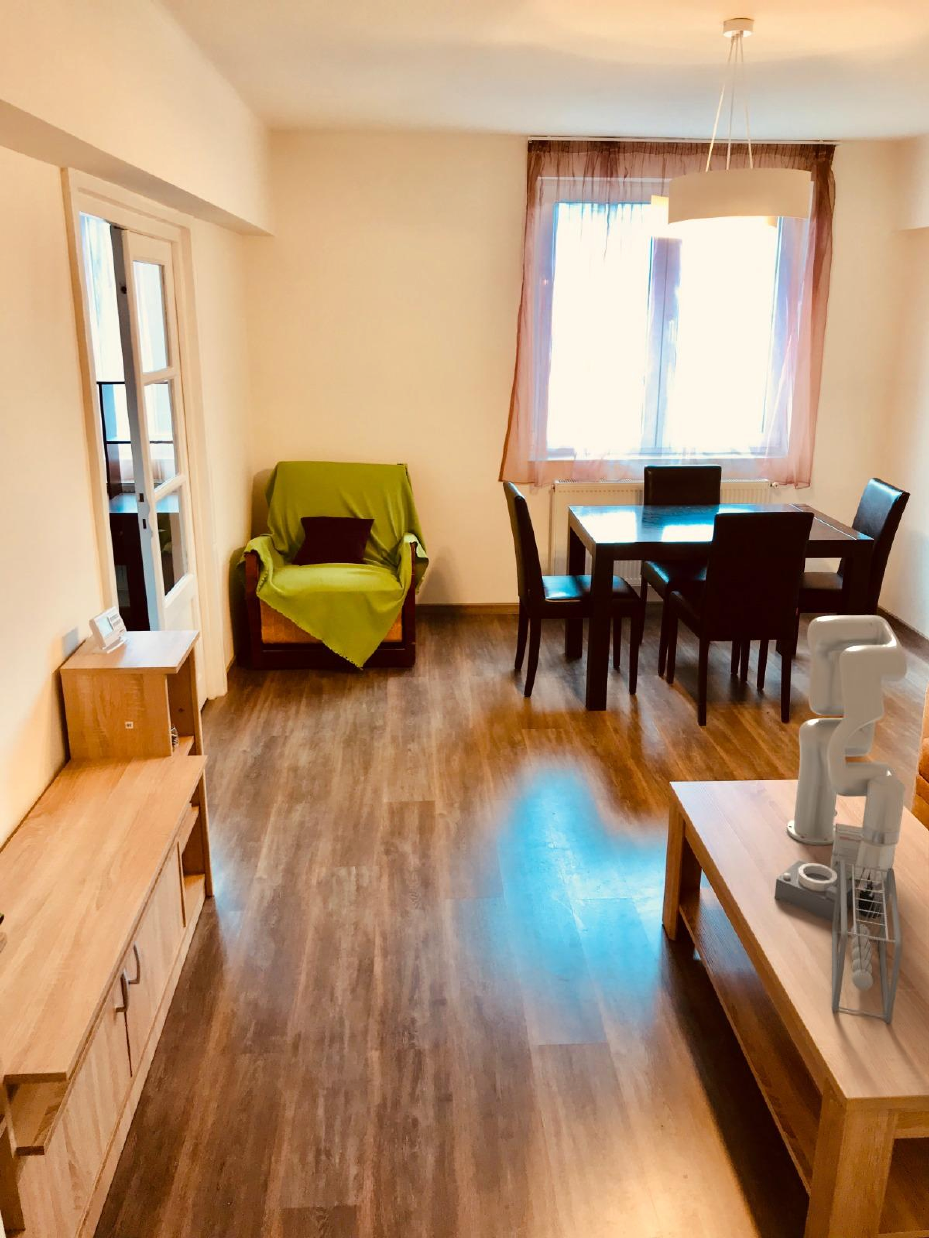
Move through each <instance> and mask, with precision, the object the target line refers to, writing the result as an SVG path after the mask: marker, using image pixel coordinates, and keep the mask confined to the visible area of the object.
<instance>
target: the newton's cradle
mask: <svg viewBox="0 0 929 1238" xmlns="http://www.w3.org/2000/svg"><path fill="white" fill-rule="evenodd" d="M846 865H848V866H852V879H851V881H852V887H853V905H852V911H853V912H852V913H853V915H852V916H853V917H852V919H853V926H852V928H851V930H850V932H849V931H848V909H847V885H846ZM854 867H860V868H866V869H872V870H878V871H881V881H882V882H879V883H880V884H881V883H882V892H879V893H881V894H882V893H883V903H882V904H883V906H882V904H881V906H882V913H880V914H881V917H880V920H879V922H878V923H877V922H876V921H877V919H878V918H877V917H878V914H879V912H878V914H877V917H876V919H874V922H873V921H872V917H873V915H872V917H871V918H870V920H869V921H868V925H867V926H866V925H865V924H866V923H867V920H868V918H867V917H868V915H867V917H865V920H860V913H859V910H860V909H858V908H859V907H858V903H859V897H858V893H857V892H858V891H857V890H859V888H858V887H857V888H856V883H857V880H854V879H858V878H854ZM883 871H884V872H887V877H886V884H885V891H884V880H883ZM861 880H864V879H861ZM867 881H870V880H867ZM854 882H855V885H854ZM873 882H876V881H873ZM880 884H879V887H880ZM896 885H897V884H896V876H895V869H894V868H893V867H892V868H889V869H888V870H883V869H877V868H871V867H865V866H859V865H853V864H847V863H846V862H845V861H844V860H841V861H840V866H839V874H838V882H837V890H836V899H835V907H834V915H833V923H832V925H831V926H832V927H831V928H832V929H831V1010H832V1011H833V1012H835V1013H836V1012H838V1011H839V1010H844V1011H850V1012H854V1013H858V1014H859V1013H860V1014H864V1015H868V1016H873V1017H876V1018H877V1017H878V1018H881V1019H884V1021H885V1023H887V1024H890V1023H892V1020H893V1015H894V1008H895V1001H896V995H897V994H896V993H897V986H898V980H899V974H900V969H901V967H900V966H901V959H902V954H903V953H902V951H903V942H902V941H903V940H902V933H901V923H900V915H899V914H900V913H899V905H898V895H897V888H896V887H897V886H896ZM879 887H878V889H879ZM856 889H857V890H856ZM878 889H877V892H878ZM862 890H865V889H862ZM868 891H871V890H868ZM874 892H876V891H874ZM877 892H876V894H877ZM855 894H856V898H855ZM876 894H875V897H876ZM881 894H880V896H881ZM875 897H874V899H875ZM879 899H880V897H879ZM879 899H878V901H879ZM861 900H864V899H861ZM866 901H869V900H866ZM873 902H875V901H874V900H873V901H872V904H873ZM878 903H881V902H877V904H878ZM890 903H891V911H892V912H891V913H892V923H893V924H892V925H893V926H892V927H893V934H894V935H893V937H894V940H891V939H889V929H888V918H887V917H888V913H889V905H890ZM840 904H841V916H840V917H839V912H840ZM877 904H876V907H877ZM871 907H872V905H871ZM871 907H870V909H871ZM876 907H875V909H876ZM875 909H874V912H873V914H874V913H877V912H875ZM880 909H881V907H880ZM880 909H879V911H880ZM863 911H866V910H863ZM869 912H872V911H870V910H869ZM869 912H868V914H869ZM839 920H840V931H839ZM861 922H864V923H863V924H862V923H861ZM870 924H872V927H871V929H870V930H869V927H870ZM875 925H877V927H876V930H875V932H874V935H873V936H872V935H871V934H872V932H873V929H874V926H875ZM877 932H878V937H877V936H876V934H877ZM839 934H840V942H839V943H840V944H839V943H838V940H839V936H838V935H839ZM848 936H851V939H852V940H851V943H850V946H851V949H852V951H851V959H852V961H853V962H852V964H851V970H852V972H853V974H852V978H851V980H852V984H853V985H854V986H855V988H857V989H859V990H861V991H866V990H867V991H868V990H869V989H870V988H872V986H873V983H874V982H873V981H874V979H873V977H872V975H871V974H872V972H873V967H872V963H871V961H872V958H873V955H874V952H875V950H876V947H877V946H878V947H879V948H878V949H879V950H878V951H879V962H880V963H879V964H880V977H881V978H880V979H881V990H882V991H881V993H882V1007H883V1015H882V1014H877V1013H873V1012H869V1011H868V1012H867V1011H863V1010H859V1009H853V1008H849V1007H845V1006H844V1007H843V1006H840V999H841V992H842V986H843V977H844V969H845V962H846V953H847V947H848V946H847V945H848ZM870 940H872V941H870ZM874 941H876V944H875V946H874V947H873V951H872V953H871V952H870V951H871V949H872V945H873V942H874ZM885 942H887V943H893V944H895V945H894V956H893V961H892V962H893V963H892V969H891V977H890V985H889V982H888V981H889V980H888V969H887V957H886V956H887V955H886V945H885V944H886V943H885ZM877 944H878V945H877ZM838 945H839V947H838ZM838 949H839V950H838Z"/></svg>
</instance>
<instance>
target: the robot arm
mask: <svg viewBox="0 0 929 1238" xmlns="http://www.w3.org/2000/svg"><path fill="white" fill-rule="evenodd" d="M806 634H807V635H806V636H807V643H808V648H809V652H810V660H811V661H810V663H811V664H810V674H809V685H808V686H809V687H808V706H809V708H810V711H812V712H813V714H815V715H819V716H843V717H838V718H837V717H828V718H819V717H818V718H812V719H808V720H806V721H804V722H803V723H802V724H801V725H800V726H799V730H798V744H799V768H798V779H797V789H796V797H795V809H794V816H793V817H794V818H793V819H791V820H790V821H788V823H787V824H786V831H787V834H789V836H790V837H792V838H793V839H794V840H796V841H798V842H801V843H804V844H807V845H813V846H828V845H831V844H832V845H833V841H834V834H835V827H836V826H835V825H834V822H835V817H836V816H837V815H838V811H837V809H836V805H837V796H841V797H845V798H846V797H850V798H851V797H854V798H855V797H865V802H864V803H865V804H864V810H863V818H862V826H861V827H862V832H861V836H862V837H863V840H862V842H861V846H860V849H859V853H858V858H857V864H856V865H859V866H865V867H871V868H877V869H883V870H888V869H889V868H892V869H893V867H894V861H895V855H896V853H895V852H896V845H897V844H898V843H899V840H900V832H901V827H902V817H903V811H904V804H905V797H906V787H905V784H904V783H903V781H902V780H900V779H899V777H898V773H897V771H896V770H895V767H893V766H892V764H890V763H888V762H885V761H852V762H851V761H847V760H846V757H860V756H865V755H867V754H868V753H870V752H871V751H872V748H873V744H874V738H875V737H874V736H875V726H876V722H877V721H879V720H881V719H882V718H883V717H884V715H885V705H884V697H883V696H884V695H883V687H882V686H883V685H882V683H885V682H887V683H888V682H892V683H893V682H899V681H902V680H903V679H904V678H905V677H906V676H907V671H908V662H907V661H908V660H907V657H906V653H905V650H904V649H903V646H902V644H901V642H900V640H899V639H898V637H897V635H896V633H895V632H894V630H893V629H892V627H891V625H890V623H889V622H888V621H887V620H886V619H885V618H884V617H882V616H880V615H876V614H875V615H872V614H871V615H870V614H869V615H868V614H865V615H855V614H854V615H851V614H850V615H849V614H848V615H845V614H844V615H825V616H819V617H815V618H814V619H812V620H811V621H810V623H809V625H808V628H807V633H806ZM846 761H847V762H846ZM854 877H855V878H858V879H856V881H858V880H859V879H860V878H861V877H862V878H861V879H864V880H861V881H859V884H858V885H857V888H859V889H858V890H859V892H858V893H859V896H858V908H861V909H864V910H866V911H868V912H869V910H870V911H872V912H873V910H874V902H873V904H872V901H873V900H874V901H875V899H874V897H875V896H874V891H875V888H876V885H878V884H879V882H881V871H878V870H872V869H866V868H860V867H856V869H855V875H854ZM886 877H887V872H884V871H883V880H884V881H885V882H886ZM869 879H871V881H872V882H871V881H867V880H869ZM873 881H876V882H873ZM867 884H868V885H871V891H868V890H870V889H869V888H867ZM862 889H865V890H862ZM861 899H864V900H861ZM866 900H869V901H866ZM871 905H872V907H871ZM870 907H871V909H870Z"/></svg>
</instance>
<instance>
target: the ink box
mask: <svg viewBox="0 0 929 1238" xmlns="http://www.w3.org/2000/svg"><path fill="white" fill-rule="evenodd" d="M834 827H835V834H834V841H833V843H832V850H831V851H832V852H831V856H830V857H831V859H830V863H829V865H830V866H829V867H830V868H831V869H832V870H834V871H835V872H836V873H837V875H838V874H839V866H840V861H841V860H844V861H845V862H846V863H847V864H853V865H856V864H857V858H858V853H859V849H860V846H861V842H862V840H863V837H862V836H861V832H862V826H855V825H848V824H842V823H837V822H836V823H835V826H834ZM855 869H856V867H854V875H855ZM854 878H855V877H854ZM861 878H862V877H861ZM861 878H860V879H859V880H856V879H854V881H855V880H856V881H859V882H860V881H861ZM846 879H849V880H852V866H848V865H846Z"/></svg>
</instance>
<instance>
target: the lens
mask: <svg viewBox="0 0 929 1238" xmlns="http://www.w3.org/2000/svg"><path fill="white" fill-rule="evenodd" d="M869 880H870V881H871V879H869ZM871 882H872V881H871ZM881 882H882V881H881ZM879 884H880V883H879ZM879 884H878V885H876V888H875V891H876V892H877V889H878V887H879ZM885 884H886V882H885V881H884V891H885ZM867 888H869V889H870V890H871V885H868V884H867ZM876 892H874V896H875V894H876ZM879 892H882V883H881V884H880V887H879V889H878V892H877V894H876V897H875V902H874V909H875V907H876V904H877V902H881V903H878V904H877V907H876V909H875V912H877V913H874V914H873V912H874V910H873V912H869V914H868V911H863V910H864V909H861V908H859V907H858V909H860V910H859V915H862V917H865V918H866V917H867V915H868V917H867V919H871V917H872V915H873V917H872V919H874V920H875V919H876V917H877V914H878V912H879V914H878V917H877V919H879V918H881V914H880V913H882V906H883V904H882V903H883V893H882V894H881V893H879ZM880 894H881V896H880ZM879 897H880V899H879ZM878 899H879V901H878ZM881 904H882V906H881ZM880 907H881V909H880ZM879 909H880V911H879ZM872 919H871V920H872ZM877 919H876V920H877Z"/></svg>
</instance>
